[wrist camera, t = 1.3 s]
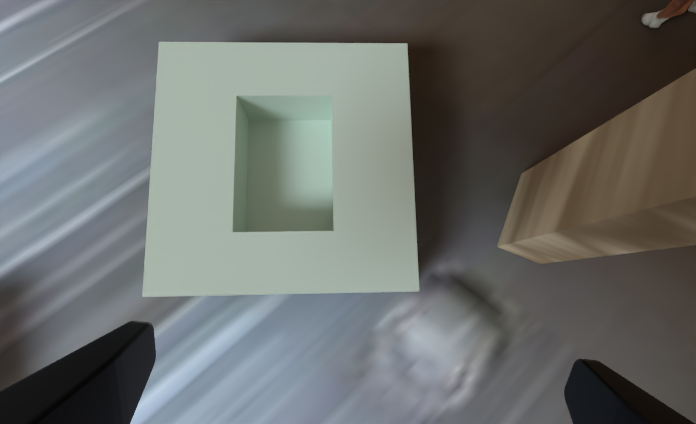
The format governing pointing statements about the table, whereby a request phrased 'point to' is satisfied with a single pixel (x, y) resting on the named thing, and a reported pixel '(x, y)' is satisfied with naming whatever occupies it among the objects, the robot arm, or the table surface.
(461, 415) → the table surface
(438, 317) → the table surface
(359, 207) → the end cap
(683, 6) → the bull figurine
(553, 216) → the slat
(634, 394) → the robot arm
